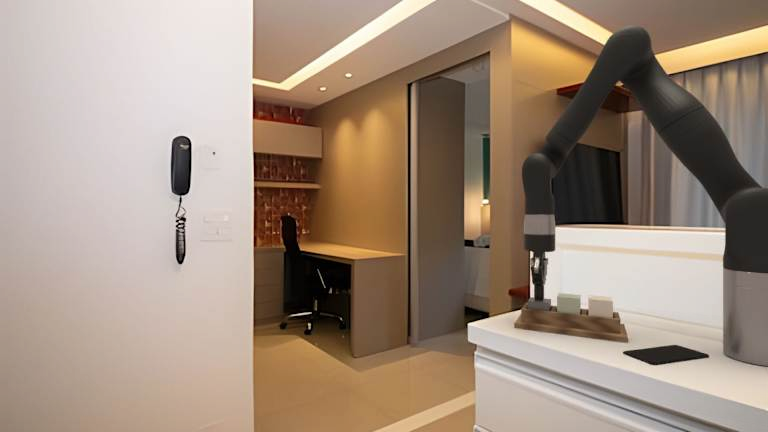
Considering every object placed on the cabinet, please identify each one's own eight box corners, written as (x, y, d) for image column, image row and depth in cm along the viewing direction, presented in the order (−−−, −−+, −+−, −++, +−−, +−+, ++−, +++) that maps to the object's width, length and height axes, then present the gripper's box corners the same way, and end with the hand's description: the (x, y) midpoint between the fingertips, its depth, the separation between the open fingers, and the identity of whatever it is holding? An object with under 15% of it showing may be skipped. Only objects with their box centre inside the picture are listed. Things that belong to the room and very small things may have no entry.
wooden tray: (624, 328, 95) (624, 311, 95) (628, 343, 84) (628, 322, 84) (522, 316, 106) (522, 300, 106) (514, 327, 96) (514, 310, 96)
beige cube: (612, 317, 93) (612, 297, 93) (612, 322, 89) (612, 301, 89) (588, 314, 95) (588, 295, 95) (588, 319, 91) (588, 299, 91)
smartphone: (621, 351, 78) (675, 344, 82) (621, 355, 78) (675, 348, 82) (653, 362, 72) (711, 354, 76) (653, 367, 72) (711, 359, 76)
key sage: (580, 314, 96) (580, 295, 96) (579, 318, 92) (579, 298, 92) (558, 311, 99) (558, 293, 99) (557, 316, 94) (557, 296, 94)
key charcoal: (551, 317, 100) (551, 299, 100) (549, 322, 95) (549, 302, 95) (530, 315, 102) (530, 297, 102) (527, 319, 98) (527, 300, 98)
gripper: (552, 233, 91) (552, 307, 91) (557, 231, 103) (557, 296, 103) (519, 233, 95) (519, 303, 95) (527, 231, 106) (527, 293, 106)
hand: (539, 299), depth 99 cm, fingers closed
